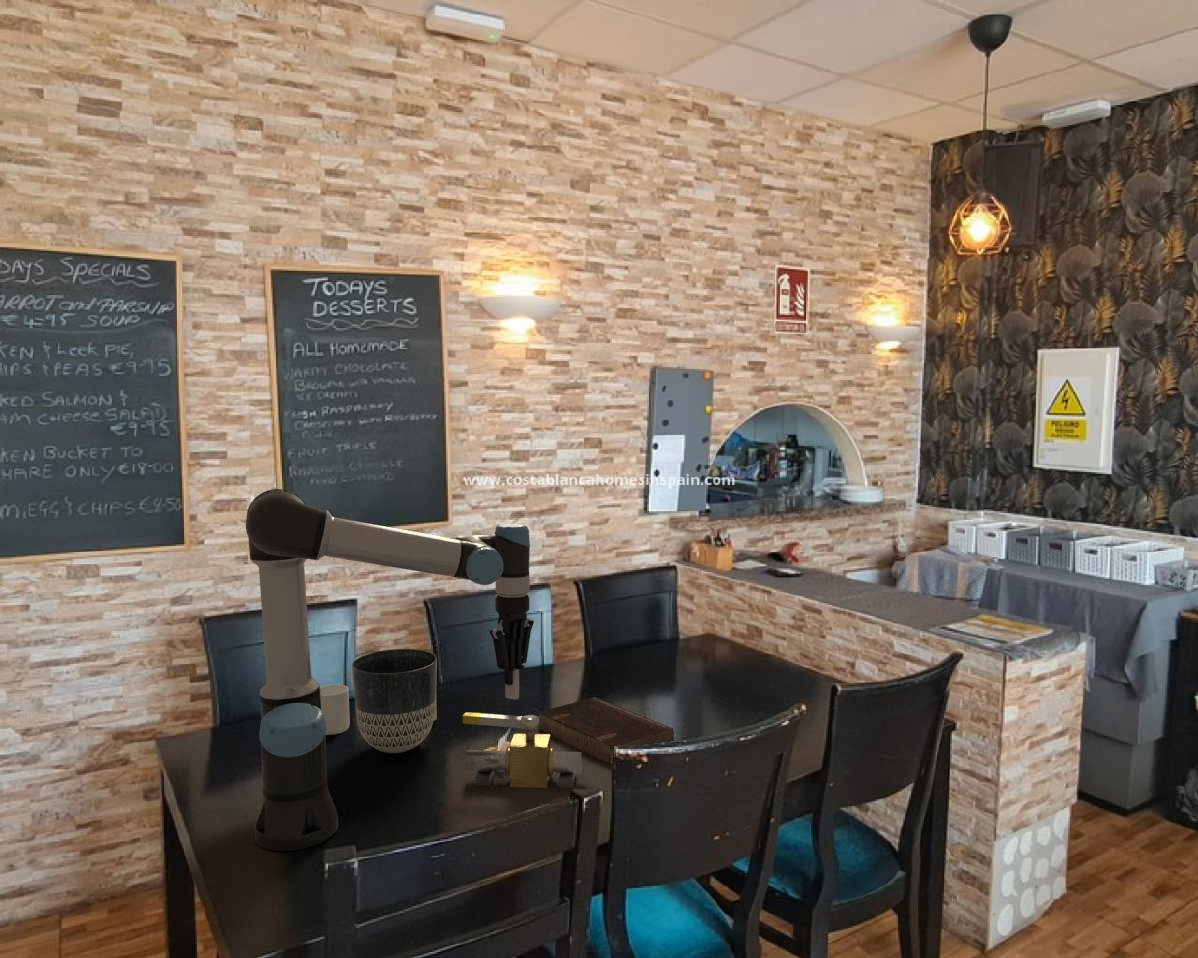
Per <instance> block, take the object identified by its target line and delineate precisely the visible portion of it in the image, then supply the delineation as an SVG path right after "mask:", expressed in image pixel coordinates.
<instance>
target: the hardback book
mask: <svg viewBox="0 0 1198 958" xmlns="http://www.w3.org/2000/svg"><path fill="white" fill-rule="evenodd" d="M538 717H539V729H538V730H539V731H541V732H544V734H550V737H553V738H556V739H557V740H559V741H562V742H564V743H566V744H568V745H570V746H572V747H574V748H576V749H578V750H580V751H581V752H584V753H587V754H589V755H591V756H593V757H595V758H597V759H599V760H601V761H603V762H605V763H608V764H609V765H611V756H612V753H613V749H614V746H617V745H643V744H655V743H662V742H670V741H674V742H675V739H674V737H675V733H674V728H673V727H671V726H669V725H666V724H663V723H661V722H659V721H656V720H653V719H651V718H649V717H646V716H644V715H641V714H639V713H636V712H633V711H631V710H629V709H627V708H624V707H622V706H618V705H616V704H614V703H611V702H609V701H607V700H604V699H601V698H599V697H596V696H594V697H590V698H586V699H582V700H579V701H575V702H571V703H567V704H563V705H560V706H556V707H552V708H548V709H546V710H545V709H544V710H542V711H541V710H540V711H538Z"/></svg>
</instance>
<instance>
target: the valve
mask: <svg viewBox="0 0 1198 958" xmlns="http://www.w3.org/2000/svg"><path fill="white" fill-rule="evenodd" d="M524 731H525V730H524ZM535 732H536V730H534V731H525V733H513V737H512V739H511V741H510V743H509V744H510V745H509V746H507V747H506V749H505V750H476V749H475V750H472V749H468V750H466V751H465V754H464V771H465V772H470V773H472V772H475V773H476V775H475V786H476V787H479V786H480V787H481V786H482V787H491V783H492V781H493V778H494V775H495V773H505V774H504V775H505V776H506V777H509V788H524V789H525V788H526V789H529V788H531V789H533V788H534V789H548V786H549V783H550V779H551V778H554V777H555V774H559V778H558V782H559V783H558V786H559V788H574V785H575V779H576V774H582V770H583V769H582V767H583V766H582V765H583V763H582V762H583V757H582V756H583V755H582V752H583V751H556V748H555V747H551V735H550V734H547V733H542V734H541V733H535Z"/></svg>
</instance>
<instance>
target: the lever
mask: <svg viewBox="0 0 1198 958" xmlns="http://www.w3.org/2000/svg"><path fill="white" fill-rule="evenodd" d="M462 724H465V725H478V726H490V727H491V726H492V727H503V728H514V729H515V728H517V729H520V730H522V731H534V730H535V731H537V730H539V715H536V714H535V715H533V714H528V715H523V716H522V715H521V716H519V715H508V714H507V715H506V714H494V713H482V712H468V711H467V712H466V711H465V713H463V715H462Z"/></svg>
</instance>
